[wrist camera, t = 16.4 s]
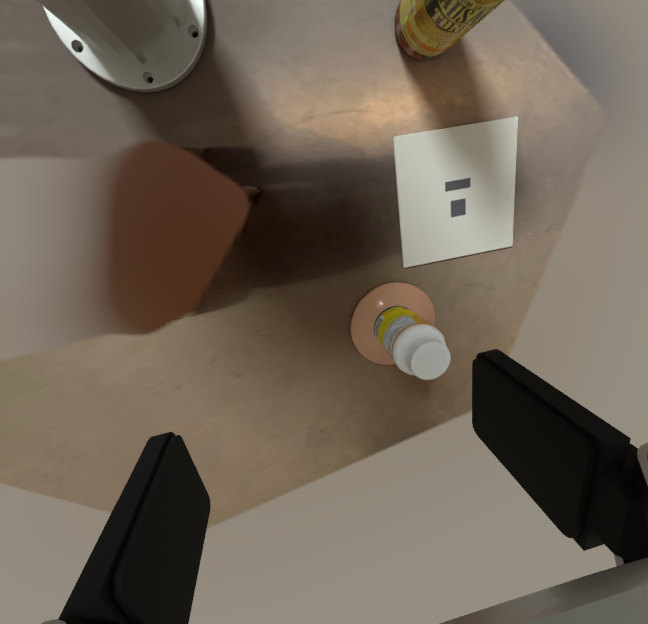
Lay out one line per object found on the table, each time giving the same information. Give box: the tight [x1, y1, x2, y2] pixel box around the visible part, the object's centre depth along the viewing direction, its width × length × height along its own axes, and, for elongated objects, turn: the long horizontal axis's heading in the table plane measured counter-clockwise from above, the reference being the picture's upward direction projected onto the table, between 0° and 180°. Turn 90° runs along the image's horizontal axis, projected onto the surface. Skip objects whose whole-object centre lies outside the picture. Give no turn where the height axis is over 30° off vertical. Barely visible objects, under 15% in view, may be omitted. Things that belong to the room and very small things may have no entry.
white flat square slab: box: [393, 116, 518, 268], centre depth 35 cm, size 14×14×1 cm
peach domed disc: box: [350, 282, 436, 365], centre depth 39 cm, size 11×11×1 cm
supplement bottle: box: [373, 305, 451, 380], centre depth 34 cm, size 6×6×10 cm
